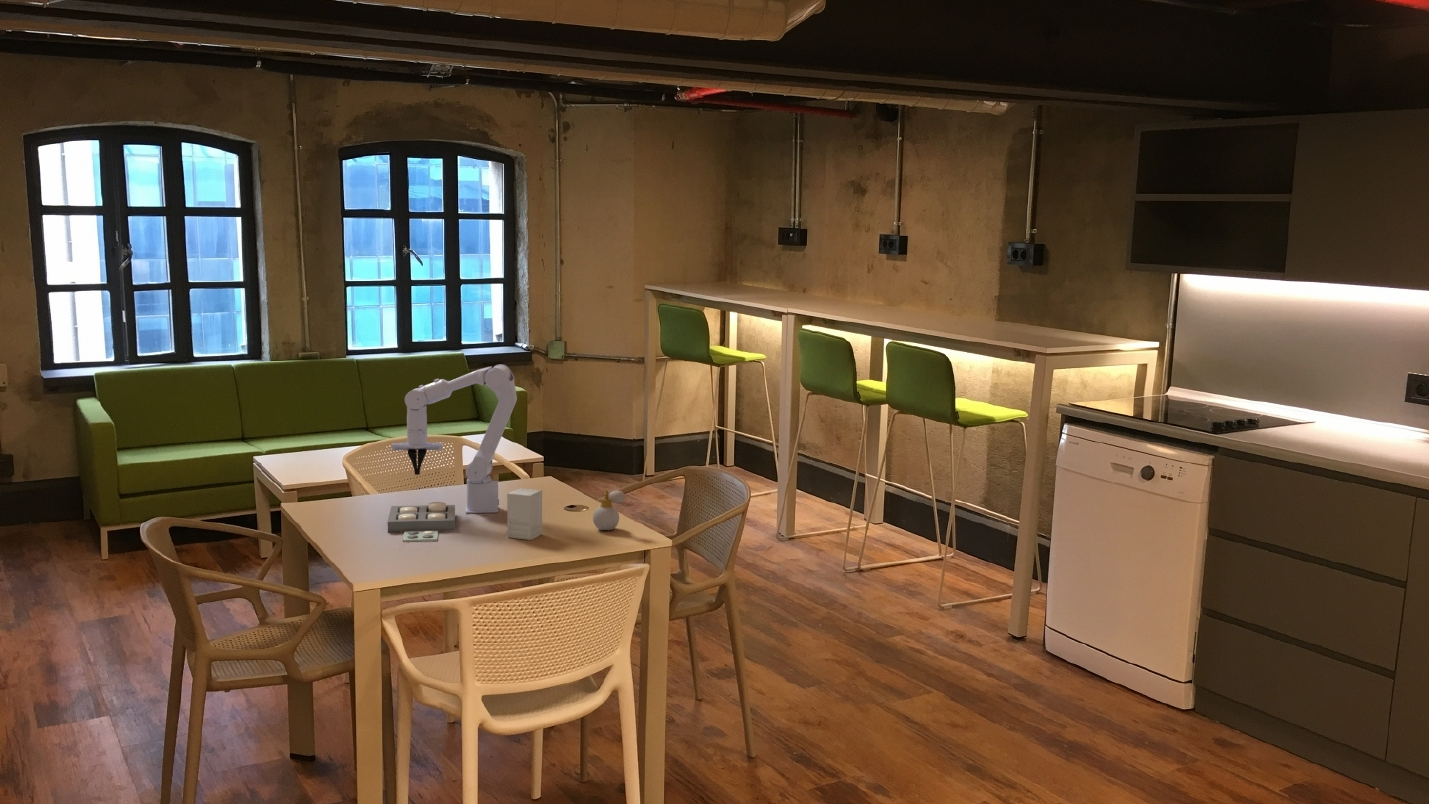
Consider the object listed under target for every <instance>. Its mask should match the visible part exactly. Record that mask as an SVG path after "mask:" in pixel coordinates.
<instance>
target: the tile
mask: <svg viewBox="0 0 1429 804" xmlns="http://www.w3.org/2000/svg"><path fill="white" fill-rule="evenodd" d="M438 536H439V531H438V530H433V531H404V532H403V537H402V542H403V543H405V542H406V543H407V542H409V543H410V542H411V543H412V542H413V543H414V542H438Z"/></svg>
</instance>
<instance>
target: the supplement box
mask: <svg viewBox="0 0 1429 804" xmlns="http://www.w3.org/2000/svg"><path fill="white" fill-rule="evenodd" d="M506 499H507V500H506V502H507V505H506V506H507V507H506V509H507V512H506V513H507V514H506V515H507V516H506V517H507V524H506V525H507V538H508V539H509V538H510V539H519V540H526V541H527V540H528V541H532V540H534V539H535V538H537V537H539V536H541V535H543V489H542V490H541V489H535V488H534V489H532V488H525V487H524V488H523V487H522V488H521V487H519V488H516V489H514V490H512V491H510V492H507V496H506Z"/></svg>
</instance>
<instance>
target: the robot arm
mask: <svg viewBox="0 0 1429 804" xmlns="http://www.w3.org/2000/svg"><path fill="white" fill-rule="evenodd" d="M475 384H476V385H481V386H483V387H484V386H487V387H488V388H489V389H490V390H491V391H492V392H493V393H494V395H495V397H496V398H497V400H498V403H497V405H496V406H495V410H494V412H493V414H492V416H491V419H490V422H489V424H488V426H487V428H486V431H485V433H484V436H483V439H482V440H481V443H480V446H479V447H478V450H477V452H476V454H475V455H474V457H473V459H472V461H470V463H468V465H467V466H466V467H465V472H464V473H465V477H466V478H467V479H466V505H465V507H464V509H465V513H466V514H479V513H481V514H482V513H487V514H488V513H498V512H499V506H500V499H499V480H492V477H491V475H490V474H491V473H492V470H493V460H494V458H495V453H496V451H497V448H498V446H499V443H500V441H501V438H502V436H503V433H504V431H505V430H506V426H507V425H508V422H509V420H510V417H511V415H512V414H513V413H512V412H513V410H514V408H515V405H516V403H517V400H518V395H517V389H516V385H515V376H514V374H513V372H512V369H510V368H509V367H508V366H507V365H506V364H496V365H494V366H487V367H484V368H483V367H482V368H480V369H479V368H478V369H477V370H474V371H471V372H469V373H466V374H463V375H461V376H459V377H457V378H454V379H452V380H446V379H444V378H441V379H439V378H436V379H433V382H431V383H427V384H425V385H424V384H421V385H418V387H417V388H414V389H412V390H410V391H409V392H407V393H406V395H405V396H404V403H405V404H404V405H406V437H407V438H406V439H407V440H406V442H395V443H394V442H393V443H391V451H392V452H396V451H407V455H408V457H409V459H410V462H411V465H412V466H413V471H414V476H420V474H421V469H422V468H421V467H422V464H423V462H424V460H425V456H426V454H427V451H443V442H428V417H427V416H428V414H427V405H431V404H435V403H437V402H439V401H442V400H445V399H448V398H450V397H451V395H452V394H453V392H454V391H457V390H460V389H463V388H465V387H470V386H472V385H475Z"/></svg>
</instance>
